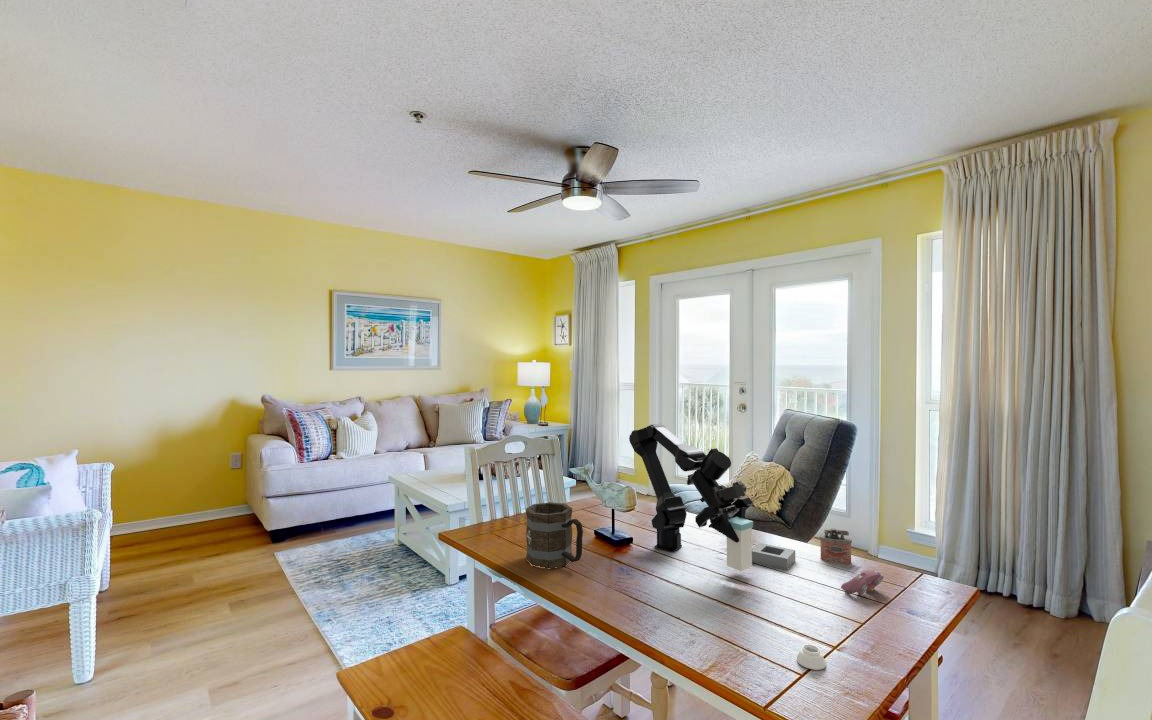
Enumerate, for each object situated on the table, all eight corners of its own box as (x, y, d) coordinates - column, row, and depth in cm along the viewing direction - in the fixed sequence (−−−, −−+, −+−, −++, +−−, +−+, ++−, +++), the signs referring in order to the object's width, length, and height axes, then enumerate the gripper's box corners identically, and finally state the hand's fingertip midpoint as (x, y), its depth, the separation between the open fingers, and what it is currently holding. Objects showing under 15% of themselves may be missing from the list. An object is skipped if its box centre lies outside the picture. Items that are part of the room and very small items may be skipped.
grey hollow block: (750, 563, 146) (750, 550, 146) (759, 554, 152) (759, 542, 152) (787, 571, 140) (787, 558, 140) (795, 562, 146) (795, 550, 146)
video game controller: (853, 604, 126) (865, 583, 123) (837, 589, 129) (849, 568, 127) (877, 595, 130) (890, 575, 128) (862, 581, 134) (874, 561, 131)
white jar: (828, 673, 96) (822, 658, 101) (828, 657, 96) (822, 643, 101) (799, 669, 97) (795, 655, 102) (799, 653, 97) (794, 640, 102)
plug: (725, 565, 138) (725, 520, 137) (737, 560, 140) (737, 516, 140) (741, 571, 133) (741, 525, 133) (753, 566, 136) (753, 521, 136)
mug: (516, 560, 151) (515, 508, 151) (550, 548, 160) (549, 499, 160) (564, 580, 137) (563, 523, 137) (598, 565, 147) (597, 512, 147)
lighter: (820, 564, 146) (820, 529, 146) (819, 560, 150) (819, 525, 150) (852, 568, 143) (852, 532, 143) (851, 564, 147) (850, 528, 147)
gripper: (704, 477, 134) (741, 530, 126) (747, 467, 146) (783, 516, 137) (680, 501, 141) (714, 553, 132) (723, 490, 152) (757, 538, 143)
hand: (743, 539), depth 136 cm, fingers closed on plug, 5 cm apart
